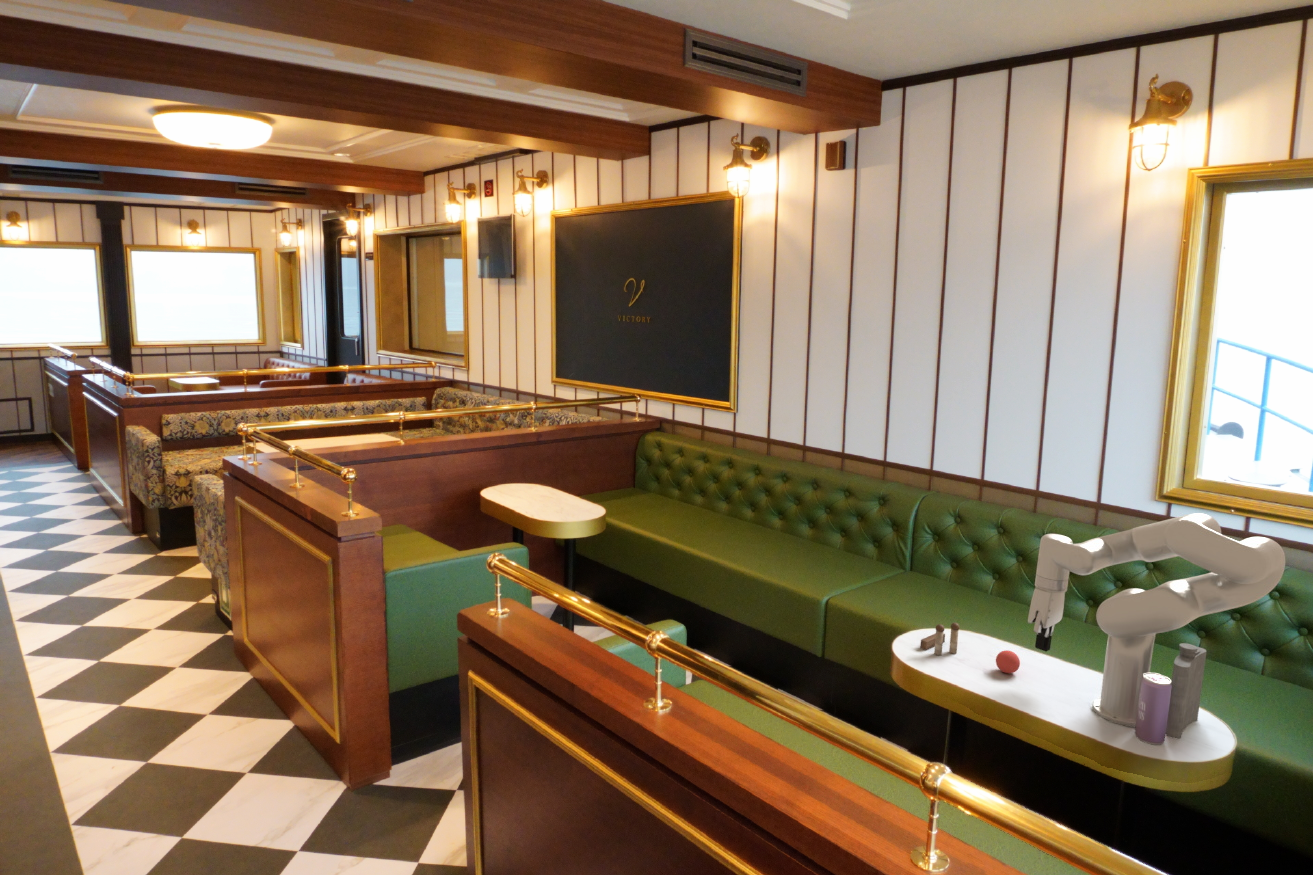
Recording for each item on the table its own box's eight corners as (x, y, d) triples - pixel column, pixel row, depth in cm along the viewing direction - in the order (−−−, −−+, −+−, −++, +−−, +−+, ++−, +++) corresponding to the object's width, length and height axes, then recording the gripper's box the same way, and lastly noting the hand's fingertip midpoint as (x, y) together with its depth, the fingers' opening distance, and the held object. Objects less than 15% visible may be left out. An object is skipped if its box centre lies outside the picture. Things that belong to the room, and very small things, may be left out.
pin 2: (956, 651, 234) (959, 621, 232) (957, 654, 231) (960, 624, 230) (948, 650, 234) (950, 620, 233) (948, 653, 232) (951, 623, 231)
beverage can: (1170, 746, 185) (1178, 684, 182) (1143, 745, 185) (1151, 683, 182) (1154, 732, 191) (1162, 672, 188) (1129, 731, 191) (1136, 671, 188)
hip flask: (1178, 739, 188) (1189, 657, 184) (1158, 732, 190) (1168, 652, 187) (1199, 717, 198) (1209, 639, 195) (1180, 711, 201) (1190, 634, 198)
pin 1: (942, 652, 232) (944, 623, 231) (942, 656, 230) (945, 626, 229) (933, 651, 233) (935, 622, 232) (933, 655, 231) (936, 625, 229)
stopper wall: (944, 641, 240) (945, 633, 240) (926, 650, 234) (927, 641, 234) (938, 639, 242) (939, 631, 241) (920, 647, 236) (920, 639, 235)
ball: (1016, 668, 223) (1018, 648, 222) (1020, 678, 217) (1022, 657, 216) (993, 666, 224) (995, 645, 223) (996, 675, 219) (998, 654, 218)
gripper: (1050, 572, 217) (1041, 636, 220) (1023, 583, 207) (1014, 651, 211) (1079, 580, 211) (1069, 646, 215) (1052, 592, 202) (1043, 661, 205)
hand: (1042, 648), depth 213 cm, fingers closed
